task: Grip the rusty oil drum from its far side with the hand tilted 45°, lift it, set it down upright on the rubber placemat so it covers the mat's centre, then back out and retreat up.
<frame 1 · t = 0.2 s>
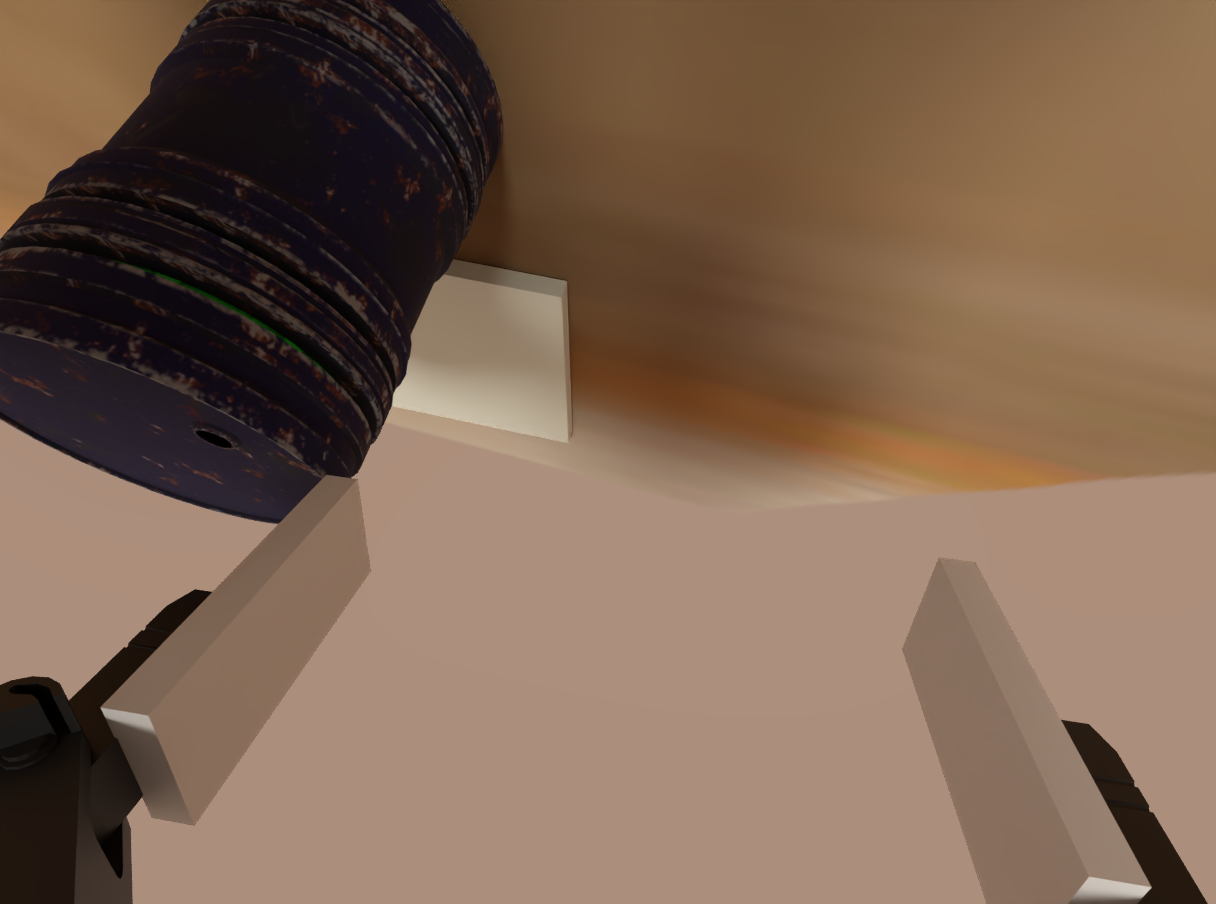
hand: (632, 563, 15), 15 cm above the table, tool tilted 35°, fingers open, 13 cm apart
placemat: (448, 343, 37), on the table
rusty oil drum: (375, 88, 24), on the table
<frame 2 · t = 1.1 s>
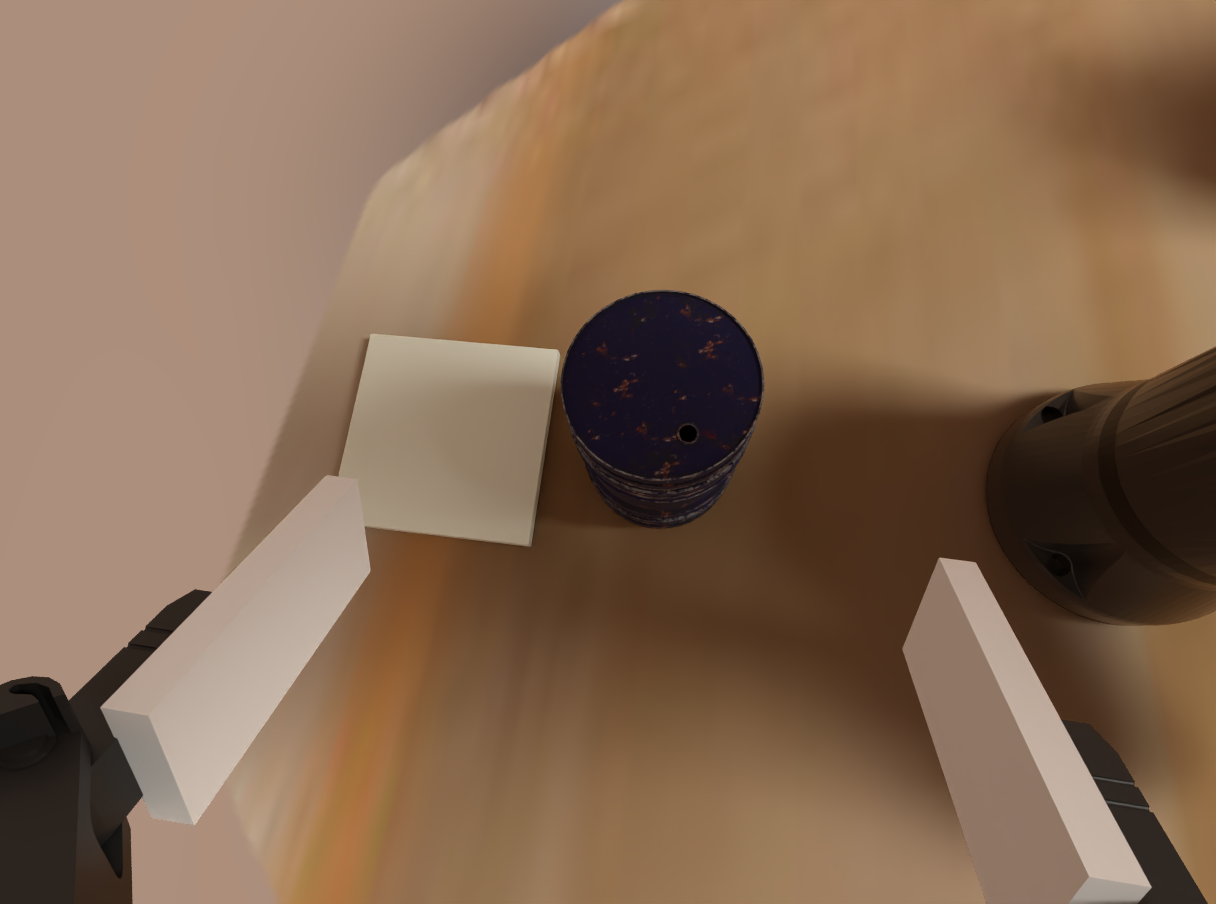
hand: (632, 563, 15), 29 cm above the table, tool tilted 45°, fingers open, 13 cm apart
placemat: (449, 437, 47), on the table
rusty oil drum: (659, 460, 46), on the table
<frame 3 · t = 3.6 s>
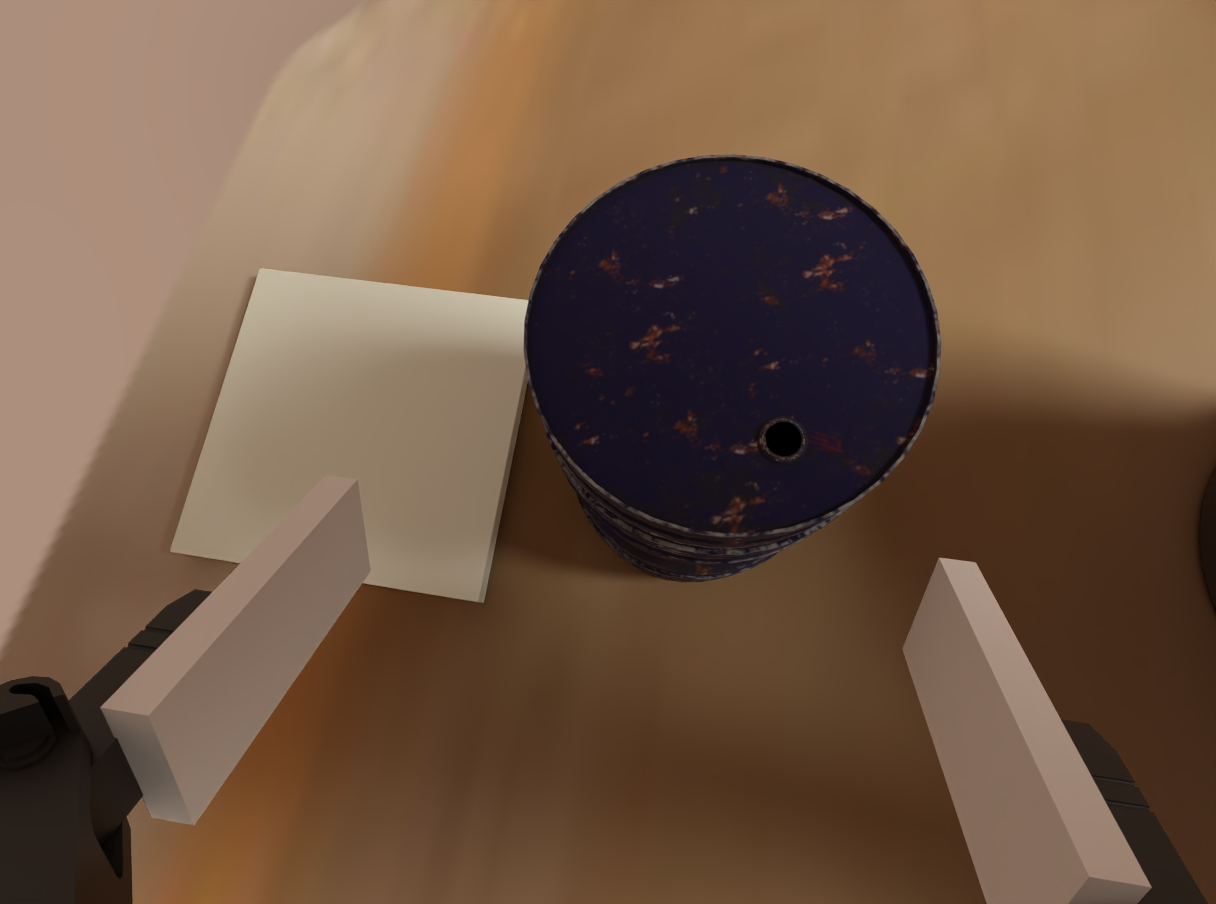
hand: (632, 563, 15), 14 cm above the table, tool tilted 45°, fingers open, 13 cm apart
placemat: (369, 428, 31), on the table
rusty oil drum: (687, 474, 30), on the table
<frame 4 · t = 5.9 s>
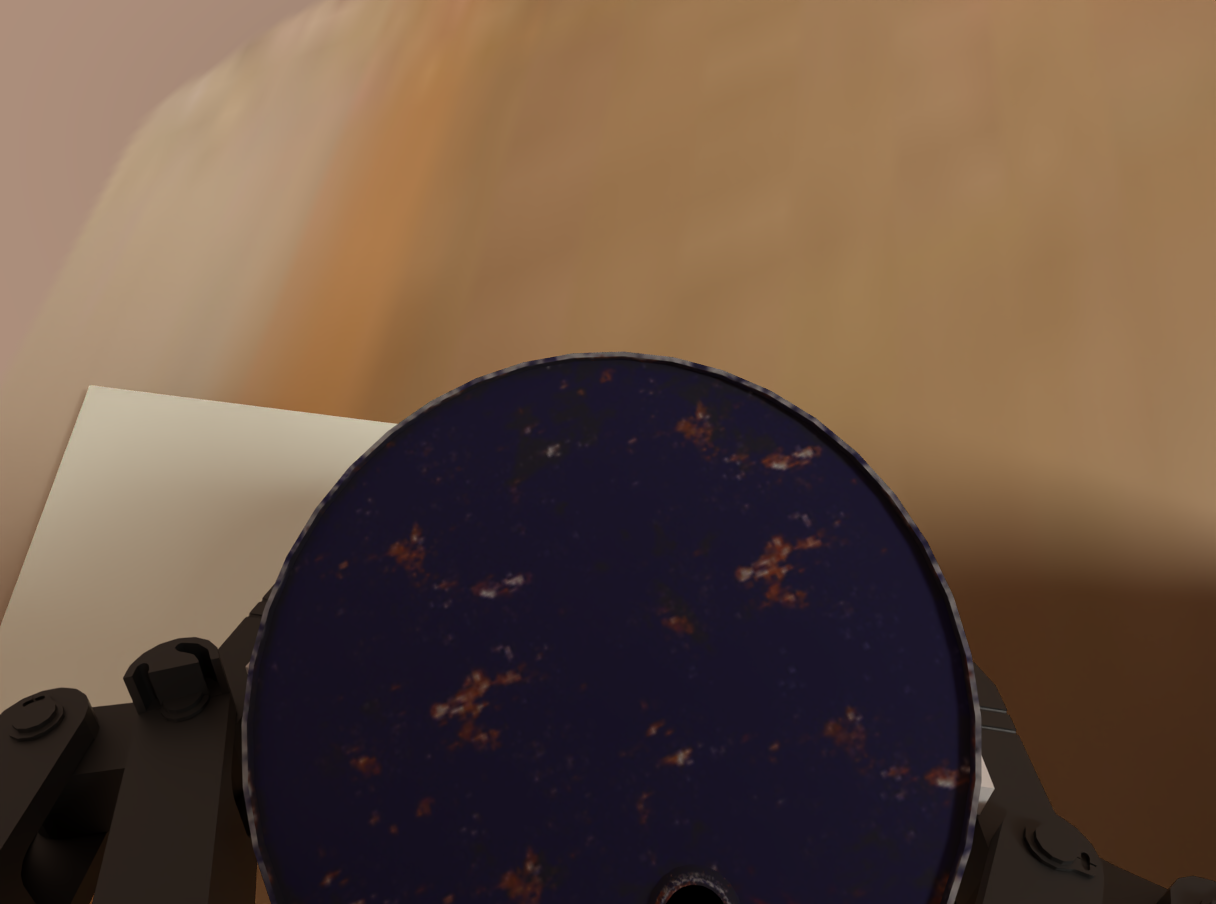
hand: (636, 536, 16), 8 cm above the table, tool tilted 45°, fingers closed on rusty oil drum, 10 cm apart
placemat: (221, 594, 24), on the table
rusty oil drum: (627, 656, 23), on the table, touching gripper
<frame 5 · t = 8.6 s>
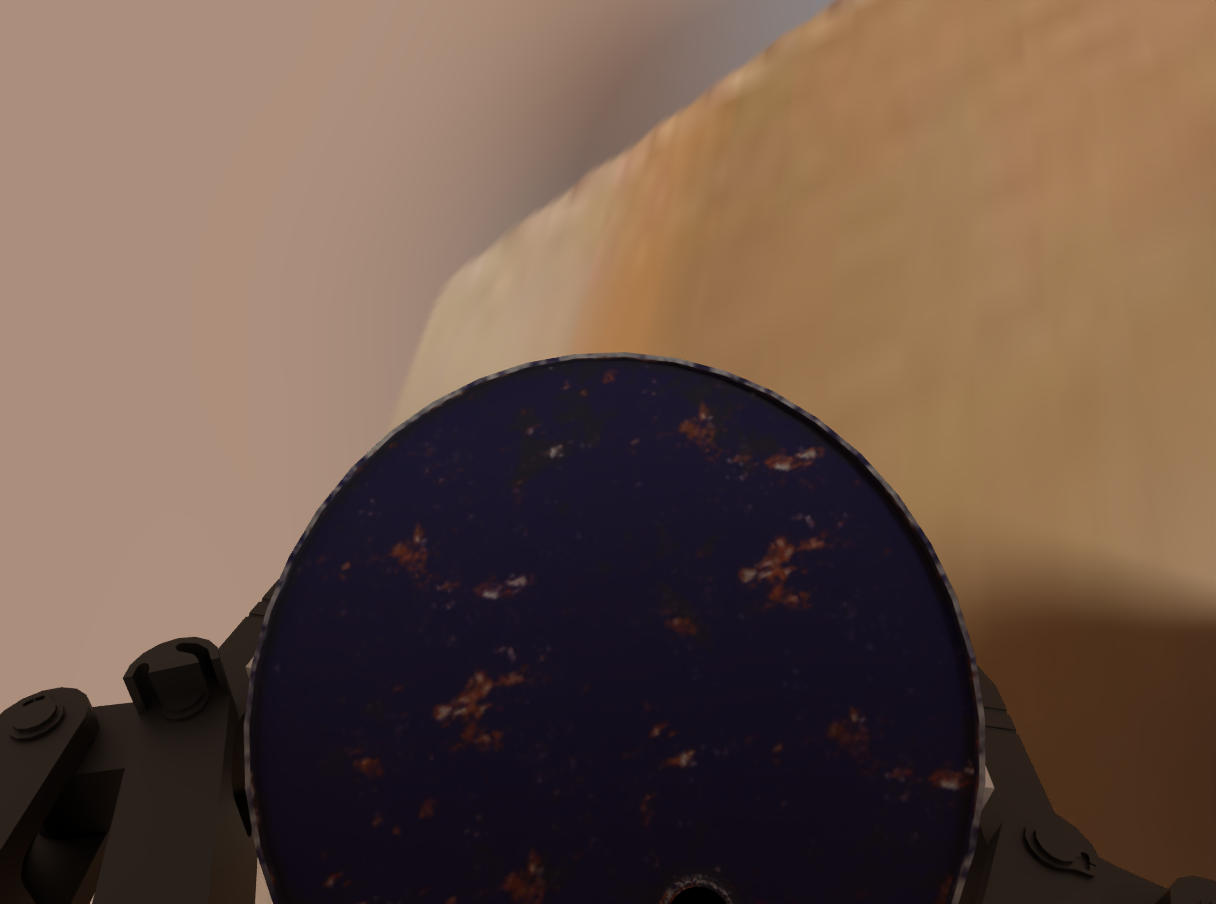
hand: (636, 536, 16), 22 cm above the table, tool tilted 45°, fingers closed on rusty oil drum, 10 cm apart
rusty oil drum: (628, 657, 23), point 14 cm above the table, touching gripper
when the fingers open (10 cm above the table, at t = 11.6 s): rusty oil drum stays where it is, resting on placemat.
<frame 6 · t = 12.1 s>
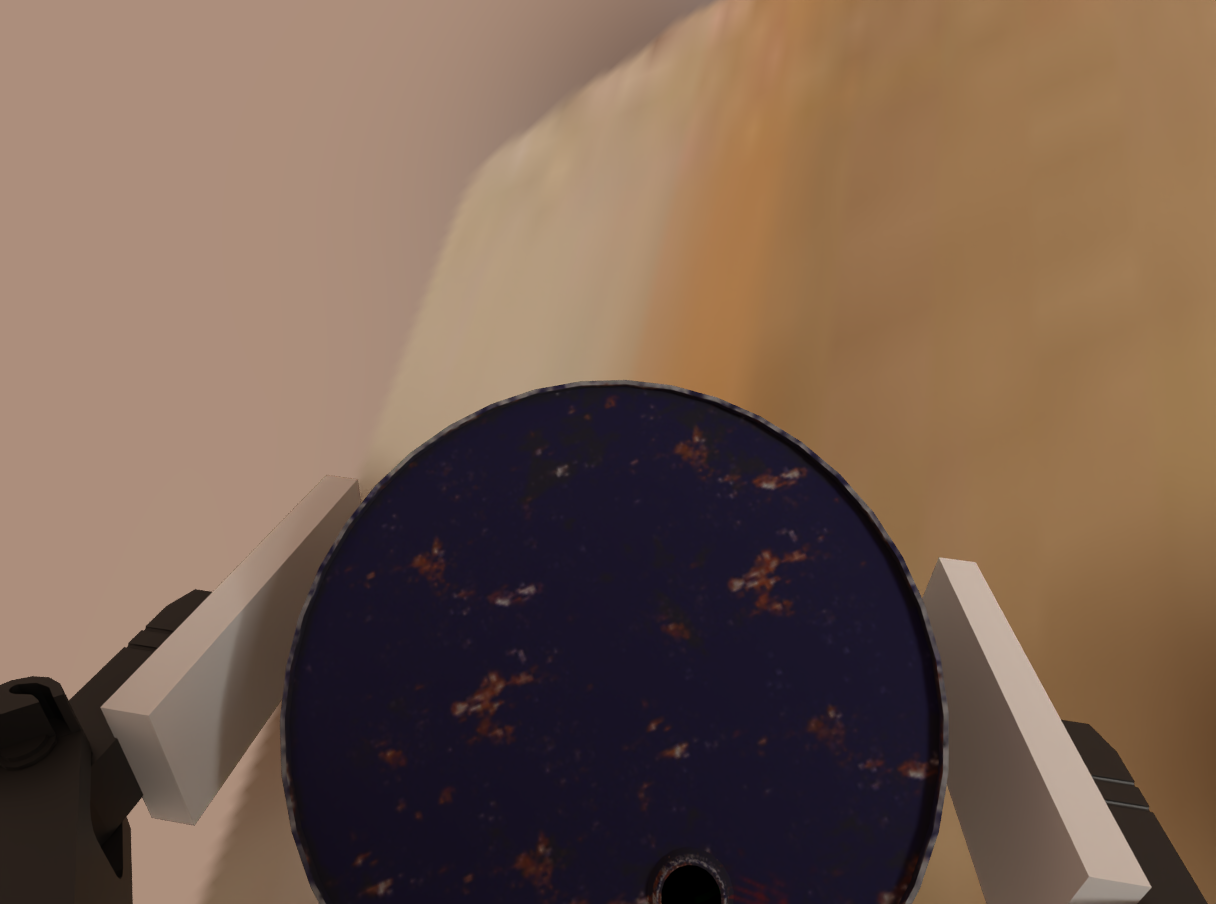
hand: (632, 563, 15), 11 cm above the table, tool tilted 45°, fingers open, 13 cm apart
rusty oil drum: (627, 658, 24), point 1 cm above the table, touching placemat
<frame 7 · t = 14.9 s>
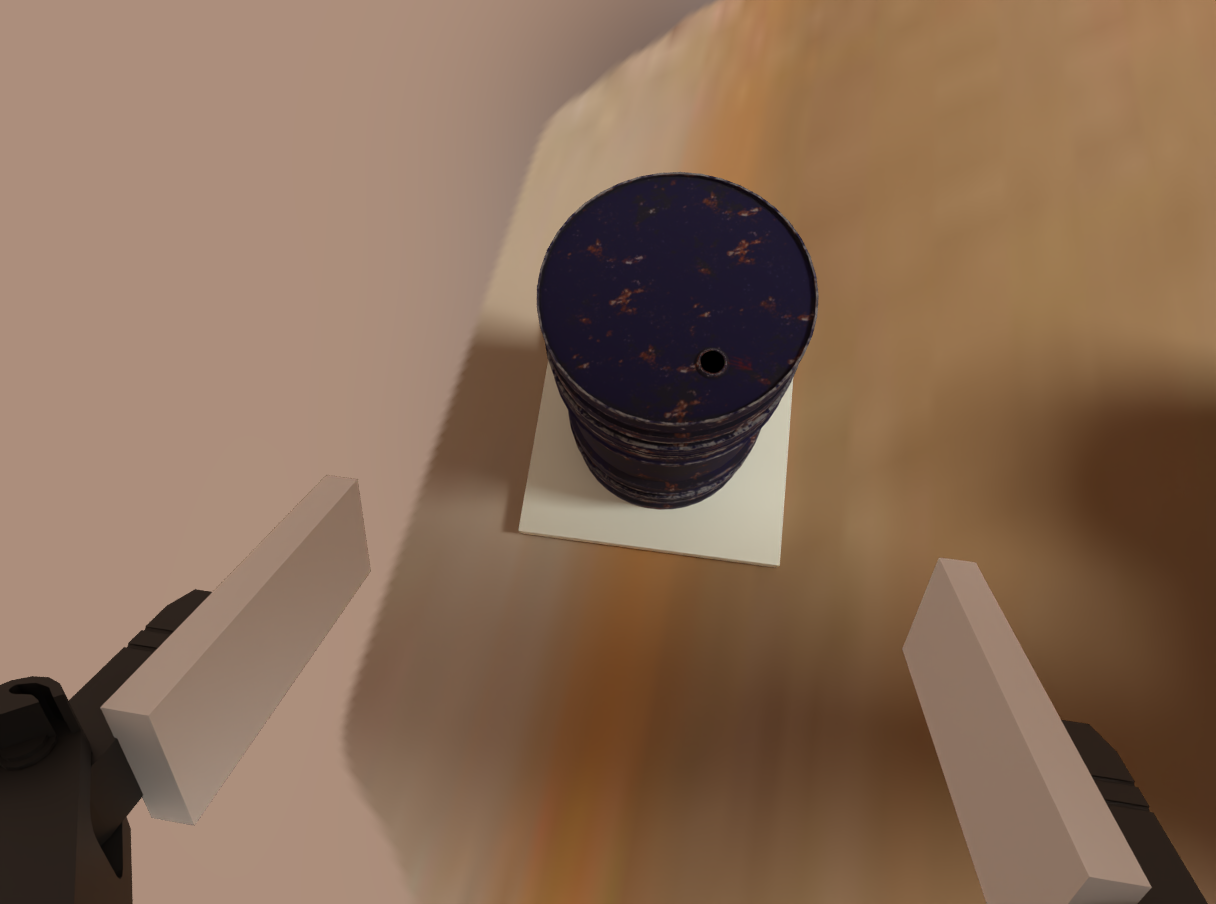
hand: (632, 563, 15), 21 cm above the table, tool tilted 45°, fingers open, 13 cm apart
placemat: (661, 428, 38), on the table
rusty oil drum: (662, 426, 37), point 1 cm above the table, touching placemat
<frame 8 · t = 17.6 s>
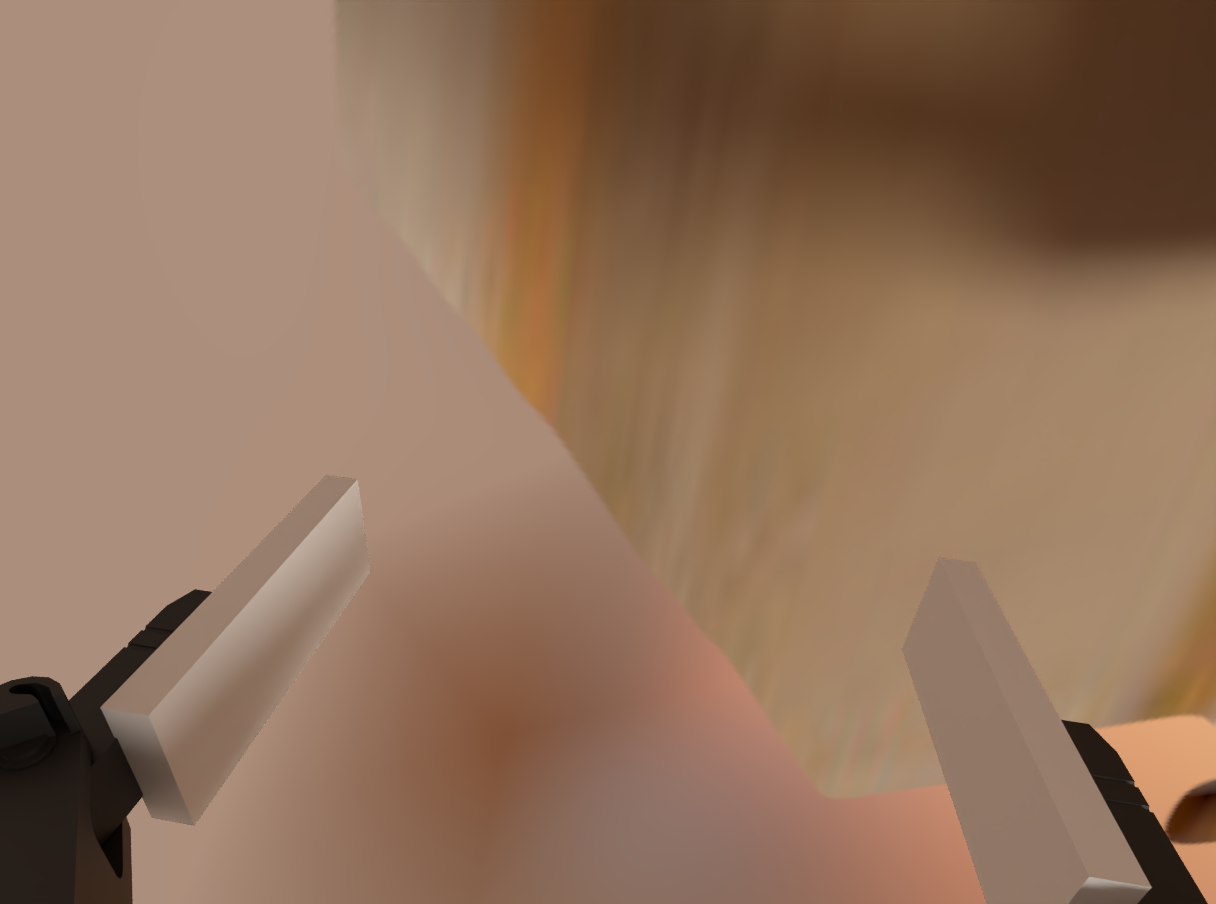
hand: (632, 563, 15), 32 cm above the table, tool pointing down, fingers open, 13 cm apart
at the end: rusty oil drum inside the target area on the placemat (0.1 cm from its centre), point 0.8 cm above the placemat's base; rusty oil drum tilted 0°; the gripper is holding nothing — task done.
